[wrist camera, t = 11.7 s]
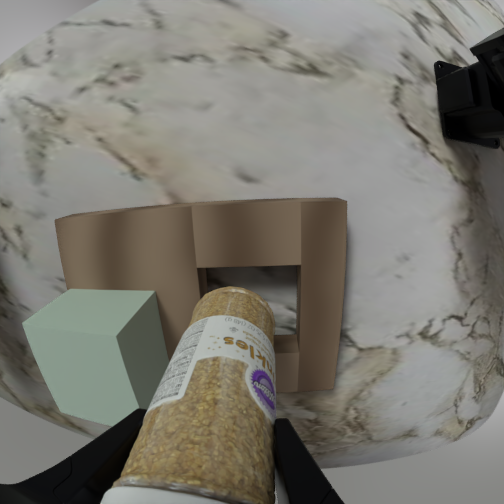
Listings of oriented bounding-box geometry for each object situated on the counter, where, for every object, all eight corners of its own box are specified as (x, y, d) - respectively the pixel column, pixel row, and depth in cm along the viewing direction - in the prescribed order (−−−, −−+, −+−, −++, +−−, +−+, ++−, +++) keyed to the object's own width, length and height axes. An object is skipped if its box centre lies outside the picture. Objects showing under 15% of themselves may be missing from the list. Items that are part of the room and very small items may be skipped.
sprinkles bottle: (292, 322, 16) (326, 584, 3) (234, 367, 17) (200, 591, 4) (231, 265, 15) (137, 553, 2) (175, 318, 16) (61, 539, 3)
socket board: (337, 197, 19) (346, 201, 17) (327, 370, 23) (333, 389, 20) (73, 214, 20) (54, 219, 18) (107, 363, 24) (95, 379, 21)
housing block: (155, 290, 19) (115, 336, 13) (172, 378, 21) (149, 433, 15) (70, 288, 19) (21, 323, 13) (94, 368, 21) (60, 411, 15)
